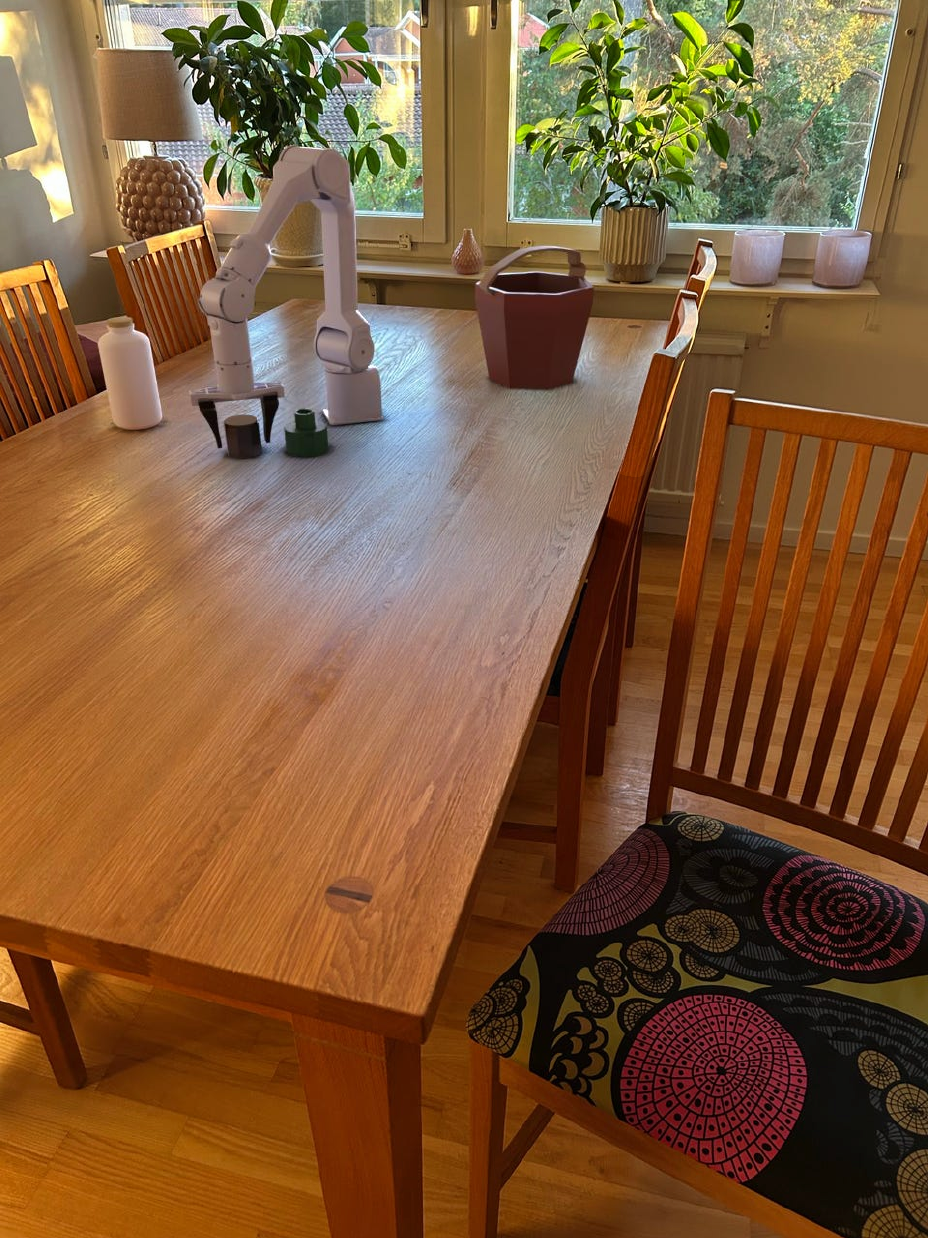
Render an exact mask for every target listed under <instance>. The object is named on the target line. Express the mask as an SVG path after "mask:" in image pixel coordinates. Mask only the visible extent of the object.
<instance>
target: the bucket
mask: <svg viewBox="0 0 928 1238" xmlns="http://www.w3.org/2000/svg"><path fill="white" fill-rule="evenodd" d="M541 252H561V253H566V256H567V263H568V266H569V271H568V274H566V273H565V274H564V273H559V272H558V273H555V272H548V271H540V270H537V271H536V270H535V271H522V272H521V271H520V272H506V273H505V272H504V273H501V272H503V271H505V270H507V269H509V268H510V267H511V266H512V265H514V264H515V263H516V262H519V261H520V260H521V259H523V258H526V257H527V256H529V255H531V254H536V253H541ZM581 255H582V254H581V251H579V250H576V249H572V248H568V247H563V246H553V245H536V246H528V247H524V248H519V249H517V250H516V251H514V252H512V253H510V254H508V255H507V256H505V257H504V258H502V259H501V260H499V261H498V262H497V263H494V264H493V265H492V266H490V267H489V268H488V270H487V271H486V272H485V273H484V275H483V276H482V277H481V279H480V280H479V281H477V282H476V283H474V284H475V285H474V287H475V288H474V300H475V306H476V312H477V317H478V323H479V328H480V334H481V339H482V340H481V341H482V344H483V345H482V346H483V351H484V357H485V361H486V368H487V374H488V378H489V380H490V381H493V382H495V383H497V384H499V385H502V386H504V387H506V388H508V389H518V390H519V389H520V390H542V391H543V390H545V391H546V390H547V391H548V390H552V389H556V388H558V387H562V386H564V385H567V384H571V383H573V381H574V377H575V375H576V371H577V370H576V369H577V366H578V362H579V358H580V354H581V351H582V348H583V347H582V345H583V343H584V339H585V335H586V331H587V327H588V323H589V320H590V316H591V312H592V308H593V304H594V292H595V286H594V285H593V284H592V283H590V281H588V280H587V279H586V278H585V276H586V271H587V266H586V265H585V263H583V262H582V261H581V260H582V256H581Z"/></svg>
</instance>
